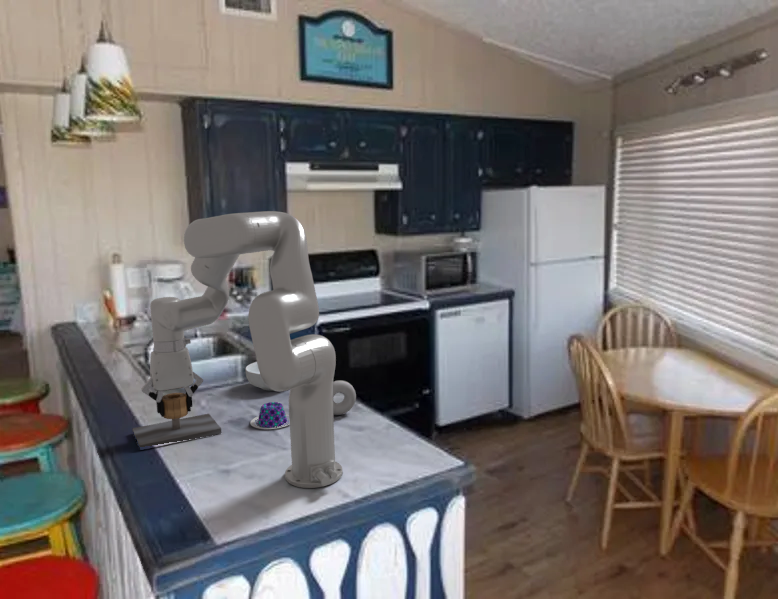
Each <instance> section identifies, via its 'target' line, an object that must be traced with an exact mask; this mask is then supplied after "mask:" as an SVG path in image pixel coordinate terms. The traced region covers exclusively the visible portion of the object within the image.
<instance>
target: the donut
mask: <svg viewBox="0 0 778 599" xmlns="http://www.w3.org/2000/svg"><path fill="white" fill-rule="evenodd" d="M338 393H341V394H343V400H342V401H341V402H335V401H334V400H333V416H342V415H344V414H347V413H348V412H350V410H352V409H353V407H354V405H355V404H356V401H357V394H356V390H355V388H354V387H353V385H352V384H351V383H350V382H348V381H346V380H335V381H334V380H333V398H334V397H335V396H336V395H337V394H338ZM341 414H342V415H341Z"/></svg>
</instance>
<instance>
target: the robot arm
mask: <svg viewBox="0 0 778 599" xmlns="http://www.w3.org/2000/svg"><path fill="white" fill-rule="evenodd" d="M183 244H184V245H183V246H184V248H185V250H186V252H187V253H188V254H189V255H190V256H191V257H194V259H193V261H192V263H191V264H190V265H191V266H190V272H191V275H192V277H193V278H194V279H195V280H197V282H198V283H200V284H202V285H203V286H206V290H205V291H204V292H203V294H202V295H200V296H196V297H195V296H194V297H191V298H190V297H189V298H185V299H179V298H178V297H175V296H174V297H173V296H163V297H158V298H154V299H152V300H151V302H150V306H149V307H150V318H151V319H150V320H151V329H152V340H153V351H151V353H150V356H149V357H150V359H149V360H150V362H149V371H150V372H149V377H150V378H149V379H148V380H147V381H146V382H145V383H144V384H143V385H142V387H140V388H141V390H140V391H141V392H142V393H143V394H145V395H146V396H148V397H149V398H151V399H152V400H153V401H155V402H156V403H155V404H156V412H157V414H159V415H160V416H161V418H164V416H165V413H164V402H163V401H162V397H163V396H164V392H166V391H172V390H177V389H184V391H185V394H186V396H187V397H186V399H187V411H188V413H189V412H192V410H191V409H192V408H193V396H194V394H195V392H196V391H197V390H198V388H199V387H200V386H201V385H202V384H203V383H204V379H203V378H202V377H201V376H199V374H197V373H195V372H194V371H193V365H192V361H191V356H190V351H189V349H188V347H186V346H187V345H190V344H191V343H192V342H191V341H192V340H191V338H186V337H185V331H188V330H189V331H190V330H193V329H196V328H199V327H205V326H208V325H211V324H213V323H215V322H216V321H218V319H219V318H220V317H221V315H222V314H223V312H224V310H225V308H226V306H227V304H228V302H229V296H230V289H229V285H228V282H227V278H228V276H229V275H230V273H231V271H232V269H233V267H234V266H235V264H236V262H237V260H238V259H239V257H240V255H244V254H254V253H259V252H266V251H273V254H272V256H271V260H270V265H269V274H270V278H271V283H272V290H269V291H265V292H262V293H260V294H258V295H257V296H256V297H255V298H253V300H252V302H251V303H250V306H249V309H248V326H249V331H250V336H251V340H252V345H253V349H254V353H255V360H256V362H257V364H258V368H259V372H260V375H261V377H262V379H263V381H264V383H265V384H266V385H267V386H268V387H269V388H270V389H272V390H271V391H274V392H281V393H282V392H286V391H289V393H288V394H289V395H288V414H289V421H290V425H289V437H290V452H291V455H290V456H291V464H290V465H289V466H288V467H287V468H286V470H285V472H284V473H285V474H284V478H285V480H286V482H287V483H289V484H290V485H292V486H294V487H297V488H302V489H303V488H304V489H314V488H315V489H316V488H322V487H326V486H330V485H333V484H334V483H336V482H338V481H339V480H340V479H341V478H342V476H343V466H342V465H341V464H340V463H339V462H338V461H336V449H335V448H336V447H335V426H334V425H335V424H334V421H335V420H334V415H333V401H334V397H333V382H334V377H335V370H336V365H337V364H336V361H337V359H336V358H337V357H336V356H337V355H336V351H335V350H336V349H335V347H334V345H333V344H332V342H331V341H330V339H328V338H327V337H325V336H323V335H321V334H312V333H311V334H306V335H305V334H304V335H302V336H299V337H295V338H293V339H291V337H290V334H294V333H297V332H299V331H302V330H306V329H309V328H311V327H313V326H314V325H315V324H316V323H317V321H318V320H319V317H320V309H319V303H318V302H319V301H318V298H317V293H316V288H315V282H314V278H313V273H312V269H311V265H310V259H309V249H308V239H307V234H306V231H305V229H304V227H303V225H302V223H301V221H300V220H298V219H297V218H296V217H295V216H293V215H292V214H290V213H288V212H282V211H275V210H273V211H272V210H267V211H253V212H252V211H251V212H237V213H227V214H221V215H216V216H211V217H207V218H206V217H204V218H198V219H195V220H192V222H191V223H190V224H188V225H187V227H186V229H185V231H184V235H183ZM194 381H195V382H194ZM151 387H152V388H153V390H154V391H155V392H154V391H152V390H150V388H151Z"/></svg>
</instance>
